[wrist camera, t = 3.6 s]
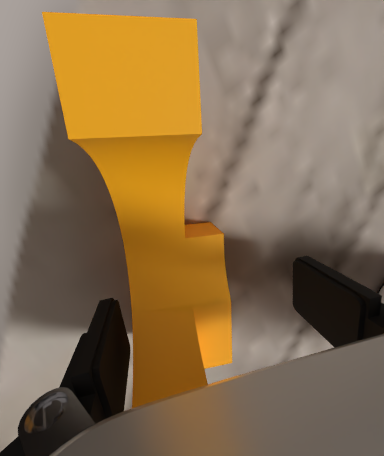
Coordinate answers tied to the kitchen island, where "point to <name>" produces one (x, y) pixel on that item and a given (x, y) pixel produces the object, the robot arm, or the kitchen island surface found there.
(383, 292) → the supplement bottle
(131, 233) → the pipe clamp
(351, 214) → the kitchen island surface
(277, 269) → the kitchen island surface
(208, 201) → the kitchen island surface
